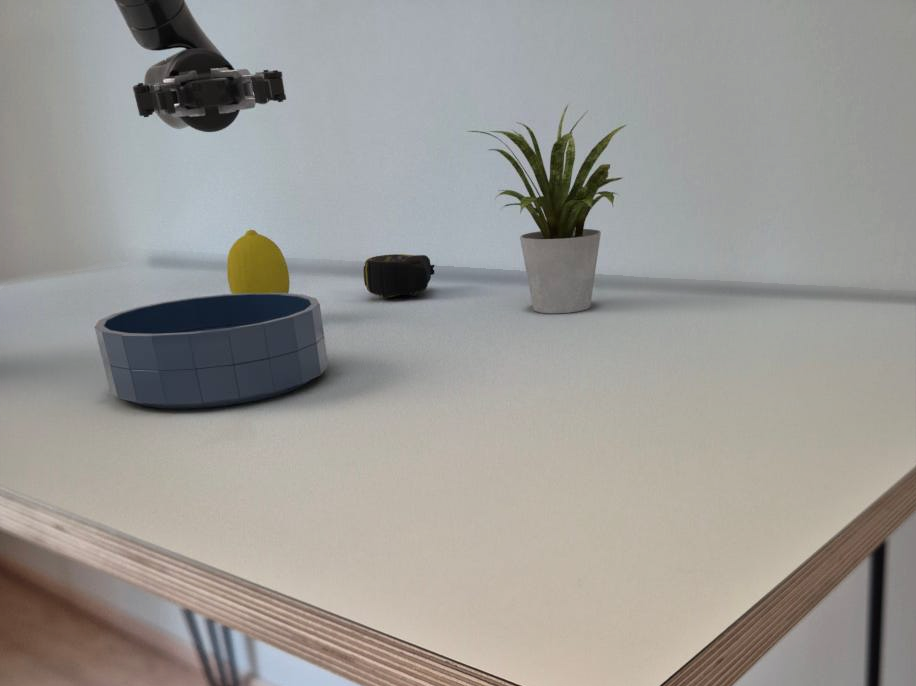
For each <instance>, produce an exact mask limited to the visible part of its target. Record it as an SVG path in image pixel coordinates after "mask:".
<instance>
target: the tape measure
mask: <svg viewBox="0 0 916 686" xmlns="http://www.w3.org/2000/svg"><path fill="white" fill-rule="evenodd" d="M434 268H435V264H431V259H430V258H429V257H428V256H427V255H425V254H418V255H415V254H414V255H413V254H405V253H404V254H403V253H399V254H397V253H396V254H395V253H394V254H383V255H376V256H372V257H369V258H367V259H366V260H365V261H364V266H363V281H364V282H363V283H364V286H365V287H366V290H367V291H368V292H369V293H370V294H372V295H376V296H381V298H382V299H384V300H385V299H389V298H393V297H397V296H403V295H411V296H413V297H415V296H416V295H417V293H419V292H424V291H426V290H427V288H428V286H429V283H430V281H431V278H432V275H435V270H434Z"/></svg>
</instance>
